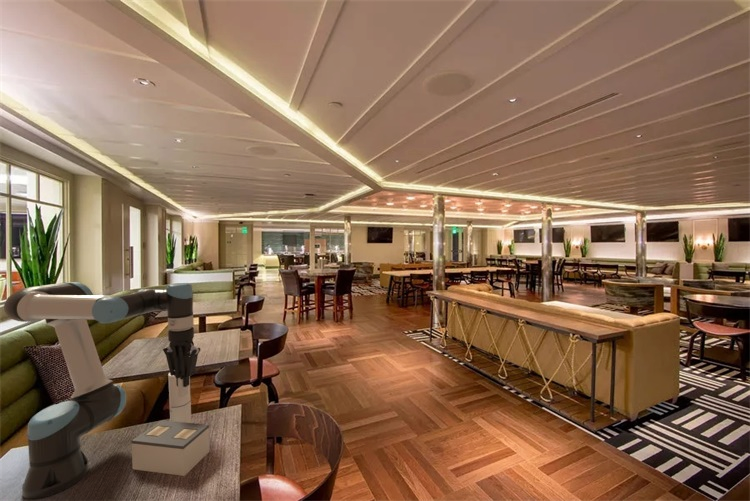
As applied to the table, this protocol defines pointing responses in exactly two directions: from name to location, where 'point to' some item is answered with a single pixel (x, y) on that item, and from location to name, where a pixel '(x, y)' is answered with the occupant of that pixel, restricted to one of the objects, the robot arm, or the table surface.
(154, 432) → the peg
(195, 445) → the plinth
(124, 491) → the table surface
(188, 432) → the peg
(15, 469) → the table surface
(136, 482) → the table surface
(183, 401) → the cylindrical container
